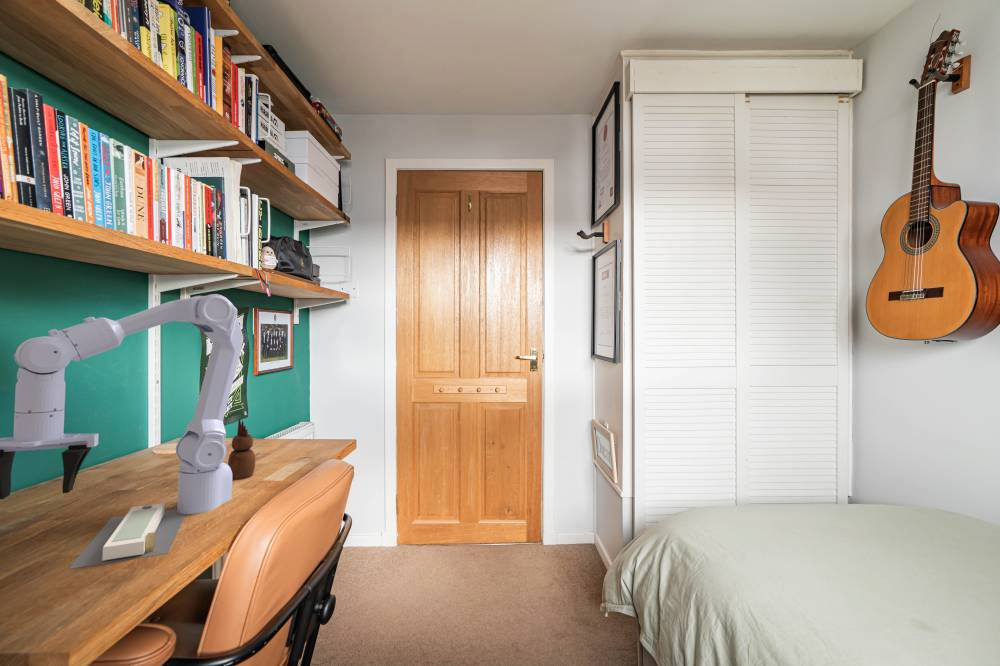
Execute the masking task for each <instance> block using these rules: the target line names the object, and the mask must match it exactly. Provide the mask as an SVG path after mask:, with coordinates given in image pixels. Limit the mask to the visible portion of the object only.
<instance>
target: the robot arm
mask: <svg viewBox="0 0 1000 666" xmlns="http://www.w3.org/2000/svg"><path fill="white" fill-rule="evenodd" d="M82 320H83V322H82V323H79V324H75V325H72V326H69V327H67V328H63V329H61V330H60V329H59V330H58V329H56V328H53V329H50V330H48V331H47V333H48V334H49V336H45V335H44V336H39V337H32V338H29V339H27V340H25V341H23V342H22V343H21V344H20V345H18V347H17V349H16V351H15V353H14V354H13V358H14V361H15V363H16V364H17V365H18V366H19V367H18V371H17V372H16V378H17V382H16V383H15V391H14V392H15V395H14V414H13V415H14V416H13V436H11V437H10V436H8V437H0V500H4V499H6V498H7V497H9V496H10V495H11V492H12V491H11V489H12V468H13V462H14V459H15V456H16V455H15V454H16V452H21V451H22V452H23V451H38V450H39V451H40V450H51V449H52V450H53V449H66V450H64V451H62V452H61V458H62V459H61V460H62V464H63V465H62V466H63V467H62V468H63V478H62V485H61V486H62V494H69V493H70V492H71V491H72V490H73V489H74V485H75V482H76V479H77V476H78V473H79V471H80V469H81V466H82V465H83V463H84V461H85V459H86V457H87V456H88V455H89V453H90V452H91V450H92V448H94V447H97V446H98V445H99V435H100V433H64V432H65V431H64V429H65V428H64V427H65V411H66V410H65V406H66V383H67V382H66V381H65V374H66V373H65V372H66V367H67V366H68V365H69V364H70V362H71V361H73V362H75V363H77V362H81V361H82V360H85V359H87V358H88V359H89V358H91V357H94V356H95V355H96V356H97V355H98V354H101V353H105V352H108V351H111V350H113V349H115V348H118V347H120V346H121V344H122V342H123V340H124V338H125V337H127V336H130V335H134V334H136V333H140V332H142V331H145V330H146V331H147V330H148V329H152V328H155V327H157V326H161V325H165V324H168V323H170V322H183V323H184V322H188V323H189V324H191V325H193V326H194V327H196V328H198V329H199V330H200V331H202V332H203V333H204V335H206V337H207V338H208V339H209V340H210V342H211V343H212V346H211V350H210V355H209V357H208V362H207V366H206V369H205V374H204V376H203V381H202V385H201V389H200V393H199V396H198V401H197V403H196V408H195V411H194V416H193V418H192V420H190V422H189V423H188V424H187V426H186V427H185V428H186V429H185V432H184V434H183V436H181V438H180V439H179V440H178V442H177V444H176V445H175V455H176V456H177V458H179V460H181V463H180V465H179V467H178V479H177V481H178V482H177V506H176V507H177V508H176V509H177V511H178V512H179V513H182V514H186V515H197V514H198V515H199V514H202V513H207V512H210V511H213V510H216V509H218V508H219V507H220V506H221V505H223V504H225V503H227V502H229V501H231V500H232V495H233V493H232V492H233V479H232V471H231V468H230V467H229V466H228V463H225V462H224V460H225V458H226V455H227V450H228V449H227V446H226V442H225V440H226V436H227V431H226V427H225V425H224V419H225V414H226V411H227V406H228V404H229V403H228V402H229V399H230V395H231V390H232V387H233V383H234V380H235V379H234V378H235V375H236V371H237V367H238V364H239V360H240V359H239V358H240V357H241V356H240V355H241V351H242V347H243V344H244V334H243V332H242V331H243V330H242V329H241V325H240V322H239V318H238V309H237V307H235V306H234V304H233V303H232V302H231V301H230V300H229V299H228V298H227V297H226V296H223V295H221V294H219V293H218V294H217V293H214V294H213V293H212V294H207V295H195V296H192V297H189V298H188V297H187V298H181V299H176V300H171V301H167V302H164V303H161V304H158V305H156V306H153V307H150V308H148V309H145V310H141V311H139V312H137V313H133V314H131V315H127V316H125V317H122V318H120V319H116V320H112V319H109V318H108V317H98V318H95V317H94V316H89V317H87V318H83V319H82Z"/></svg>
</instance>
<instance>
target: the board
mask: <svg viewBox="0 0 1000 666" xmlns="http://www.w3.org/2000/svg"><path fill="white" fill-rule="evenodd" d="M186 515H187V514H182V513H179V512H178V511H177V508H176V509H169V510H165V512H164V515H163V517H162V519H161V521H160V523H159V525H158V527H157V529H156V531H155V532H153V533H148V534H147V536H146V550H145V552H144V554H141V555H134V556H128V557H122V558H115V559H109V560H103V561H102V556H103V547H104V545H105V544H106V542H107V541H108V540H109V538H110V537H111V535H112V534H113V533H114V531H115V530H116V529H117V527H118V526H119V524H120V523H121V522H122V520H123V519H124V518H125V516H126V515H120V516H112V517H110V519H109V520H108V522H107V523H106V524H105V525H104V526H103V527H102V528H101V529H100V531H99V532H98V533H97V534H96V535H95V537H94V538H93V539H92V540H91V542H90V543H89V544H87V546H86V547H85V548H84V549H83V551H82V552H81V553H80V555H79V556H78V557H77V558H76V559H75V560H74V562H73V563H72V564H71V565H70V567H69V568H68V570H72V569H73V570H74V569H79V568H85V567H92V566H99V565H104V564H111V563H117V562H125V561H129V560H130V561H131V560H136V559H137V560H138V559H142V558H149V557H155V556H156V557H157V556H162V555H168V554H169V552H170V550H171V548H172V545H173V543H174V541H175V540H176V536H177V534H178V533H179V529H180V528H181V525H182V523H183V521H184V520H185V516H186Z"/></svg>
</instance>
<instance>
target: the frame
mask: <svg viewBox="0 0 1000 666" xmlns="http://www.w3.org/2000/svg"><path fill="white" fill-rule="evenodd" d="M165 505H166V503H164V502H163V503H156V504H155V503H153V504H147V505H139V506H132V507H131V508H130V509H129V510H128V512H127V514H125V515H124V516H125V518H124V519H123V520H122V522H121V523H120V524H119V526H118V527H117V529H116V530H115V531H114V533H113V534H112V535H111V537H110V538H109V540H108V541H107V542H106V544H105V545H104V547H103V556H102V561H103V560H109V559H115V558H122V557H128V556H134V555H141V554H144V552H145V550H146V536H147V534H148V533H153V532H155V531H156V529H157V527H158V525H159V523H160V521H161V519H162V517H163V515H164V512H165V511H166V510H165V508H166V506H165Z"/></svg>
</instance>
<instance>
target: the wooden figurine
mask: <svg viewBox="0 0 1000 666" xmlns="http://www.w3.org/2000/svg"><path fill="white" fill-rule="evenodd" d="M253 445H254V437H253V436H252V434H249V430H248V429H247V426H246V425H244V421H242V420H241V418H238V423H237V434H236V435H234V437H233V438H232V440H231V448H232V449H233V450H232V451H231V452H230V453H229V457H228V459H227V460H228V461H227V465H228V466H229V467H230V468H231V471H232V480H244V479H249V478H251V477H253V475H254V472H255V469H256V467H255V466H256V456H255V452H254V451H253V450H252V449H251V448H252V447H253Z"/></svg>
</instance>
